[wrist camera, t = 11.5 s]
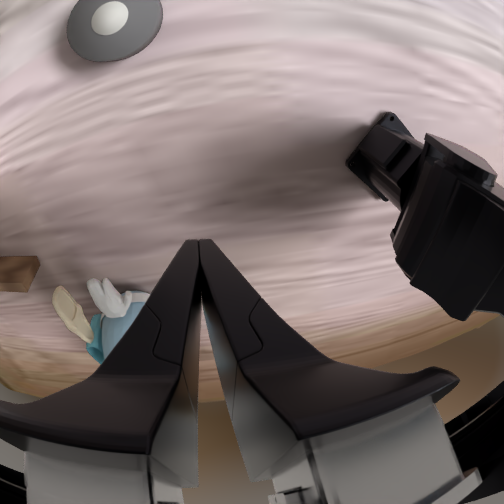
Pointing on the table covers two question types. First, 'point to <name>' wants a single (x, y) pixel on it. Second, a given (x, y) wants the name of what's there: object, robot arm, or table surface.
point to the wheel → (113, 28)
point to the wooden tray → (17, 272)
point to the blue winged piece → (100, 315)
